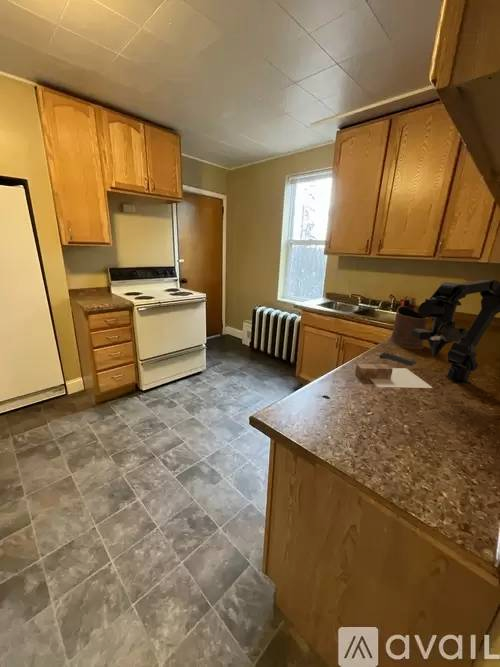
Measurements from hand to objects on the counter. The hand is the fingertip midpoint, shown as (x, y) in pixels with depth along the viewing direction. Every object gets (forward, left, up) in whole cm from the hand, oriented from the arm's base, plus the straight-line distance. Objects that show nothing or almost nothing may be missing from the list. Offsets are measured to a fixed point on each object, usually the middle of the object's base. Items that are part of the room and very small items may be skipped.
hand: (434, 355), depth 110 cm
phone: (-1, -24, -13) cm, 27 cm away
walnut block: (+14, -4, -9) cm, 17 cm away
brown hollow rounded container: (-22, -48, -12) cm, 54 cm away
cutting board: (+12, -4, -12) cm, 17 cm away
